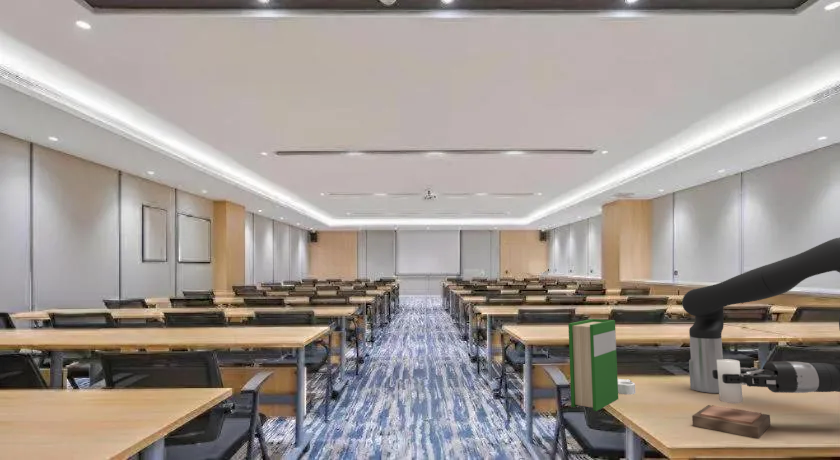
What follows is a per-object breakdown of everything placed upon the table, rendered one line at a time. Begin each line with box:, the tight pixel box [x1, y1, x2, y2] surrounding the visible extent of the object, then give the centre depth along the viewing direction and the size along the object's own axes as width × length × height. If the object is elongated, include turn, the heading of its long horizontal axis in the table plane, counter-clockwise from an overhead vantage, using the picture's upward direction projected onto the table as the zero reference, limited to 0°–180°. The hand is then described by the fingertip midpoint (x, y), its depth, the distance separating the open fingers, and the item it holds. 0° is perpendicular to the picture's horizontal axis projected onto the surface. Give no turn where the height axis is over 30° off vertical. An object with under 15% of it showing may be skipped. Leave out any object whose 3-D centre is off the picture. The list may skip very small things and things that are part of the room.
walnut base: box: [691, 404, 772, 439], centre depth 125 cm, size 14×14×3 cm
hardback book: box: [568, 318, 619, 412], centre depth 149 cm, size 18×7×24 cm, turn 139°
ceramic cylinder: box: [717, 358, 744, 404], centre depth 126 cm, size 5×5×10 cm
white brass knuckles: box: [618, 378, 636, 395], centre depth 166 cm, size 3×18×15 cm
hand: (718, 376), depth 126 cm, fingers closed on ceramic cylinder, 5 cm apart
